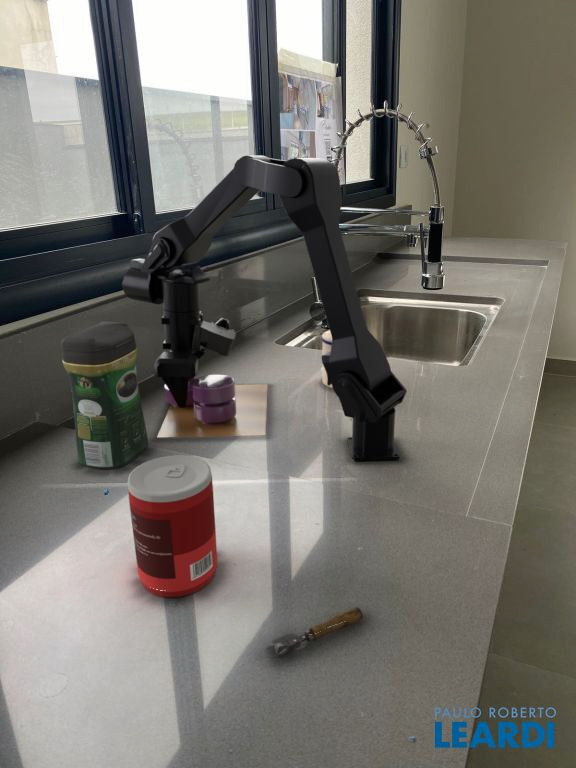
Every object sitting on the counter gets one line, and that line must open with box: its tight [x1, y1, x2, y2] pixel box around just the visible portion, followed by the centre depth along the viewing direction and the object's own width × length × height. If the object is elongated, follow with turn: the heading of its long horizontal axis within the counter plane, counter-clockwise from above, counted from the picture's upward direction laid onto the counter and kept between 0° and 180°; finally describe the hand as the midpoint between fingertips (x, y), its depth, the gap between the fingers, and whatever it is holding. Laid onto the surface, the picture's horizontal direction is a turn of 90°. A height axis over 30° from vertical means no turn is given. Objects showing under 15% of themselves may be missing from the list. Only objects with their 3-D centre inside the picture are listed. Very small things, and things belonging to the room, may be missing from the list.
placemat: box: [156, 383, 269, 439], centre depth 99 cm, size 22×16×1 cm
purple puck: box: [192, 374, 236, 405], centre depth 94 cm, size 7×7×3 cm
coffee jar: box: [60, 321, 149, 470], centre depth 81 cm, size 10×8×19 cm
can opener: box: [265, 606, 364, 657], centre depth 51 cm, size 9×2×1 cm, turn 113°
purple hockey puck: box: [163, 377, 196, 406], centre depth 101 cm, size 7×7×3 cm
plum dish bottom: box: [193, 397, 236, 424], centre depth 95 cm, size 7×7×3 cm
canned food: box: [127, 454, 218, 598], centre depth 58 cm, size 8×8×11 cm
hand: (185, 398), depth 102 cm, fingers open, 7 cm apart
